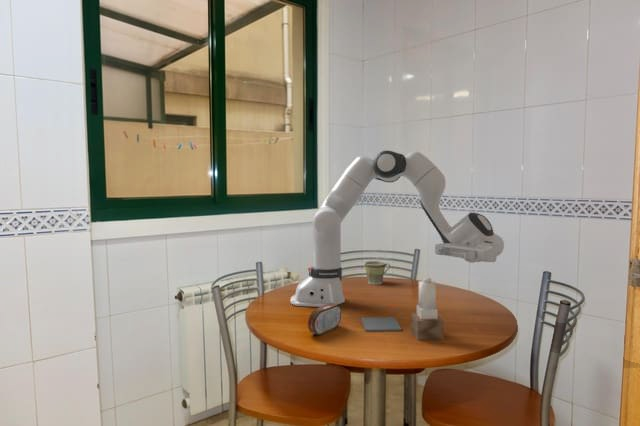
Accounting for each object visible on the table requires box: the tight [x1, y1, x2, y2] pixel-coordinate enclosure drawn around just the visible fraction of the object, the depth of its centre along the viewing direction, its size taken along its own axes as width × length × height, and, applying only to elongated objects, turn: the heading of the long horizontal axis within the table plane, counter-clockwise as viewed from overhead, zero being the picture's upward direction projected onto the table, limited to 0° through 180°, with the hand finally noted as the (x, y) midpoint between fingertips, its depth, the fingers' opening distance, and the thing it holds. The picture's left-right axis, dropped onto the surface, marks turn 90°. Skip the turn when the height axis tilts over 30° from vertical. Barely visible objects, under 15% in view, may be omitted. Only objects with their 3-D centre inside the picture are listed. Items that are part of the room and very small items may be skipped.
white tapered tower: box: [416, 277, 439, 319], centre depth 129 cm, size 5×5×12 cm
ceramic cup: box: [364, 260, 391, 286], centre depth 199 cm, size 13×10×10 cm
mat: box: [360, 316, 403, 332], centre depth 140 cm, size 12×12×1 cm
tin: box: [307, 303, 342, 336], centre depth 134 cm, size 15×3×8 cm, turn 141°
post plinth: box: [410, 312, 444, 341], centre depth 130 cm, size 8×8×9 cm
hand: (450, 254), depth 136 cm, fingers open, 8 cm apart
